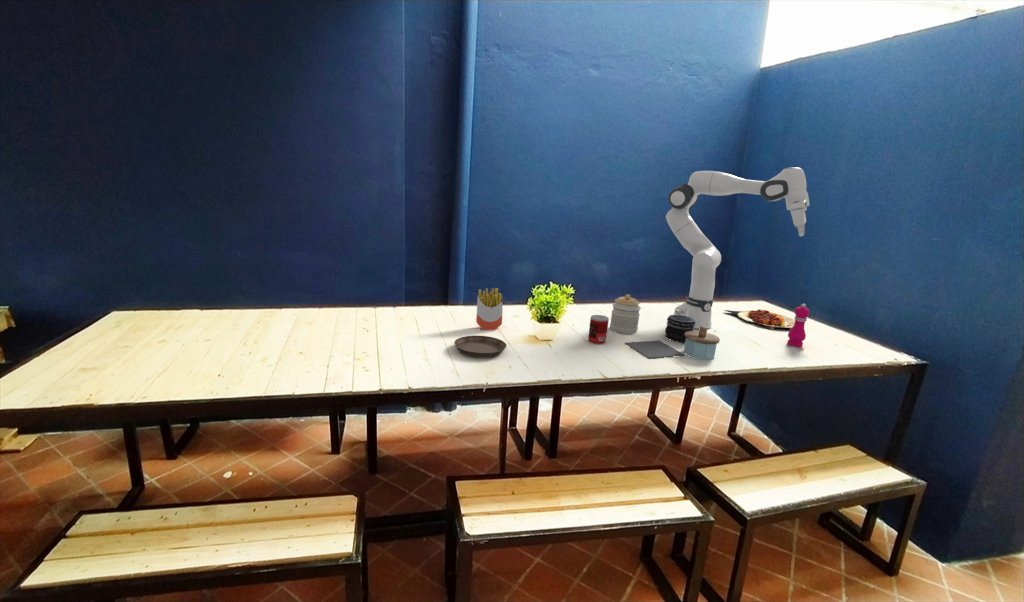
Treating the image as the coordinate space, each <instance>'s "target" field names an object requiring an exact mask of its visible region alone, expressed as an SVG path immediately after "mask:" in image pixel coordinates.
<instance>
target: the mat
mask: <svg viewBox="0 0 1024 602" xmlns="http://www.w3.org/2000/svg"><path fill="white" fill-rule="evenodd" d="M624 345H626V346H627V345H628V346H627V347H629V346H630V347H629V348H631V349H632V348H633V349H632V350H634V351H635V350H636V352H637V353H639V355H642V356H643V357H645V358H646V357H647V359H648V360H652V359H653V360H654V359H664V357H668V358H674V357H673V356H680V357H685V356H686V354H685V353H683V352H682V351H679V350H677V348H674V347H672V346H671V345H668V344H667V343H665V342H663V341H661V340H660V339H658V340H657V339H655V340H643V341H642V340H641V341H629V342H628V341H627V342H624Z"/></svg>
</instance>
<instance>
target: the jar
mask: <svg viewBox="0 0 1024 602" xmlns="http://www.w3.org/2000/svg"><path fill="white" fill-rule="evenodd" d="M614 301H615V302H614V303H612V310H611V319H610V324H609V329H610V331H612V332H613V333H618V334H622V335H635V334H637V333H638V329H639V320H640V316H641V314H640V310H641V309H642V308H641V306H639V305H640V301H638V300H637V299H636V298H633V297H631V295H630V294H627V293H626V294H625V295H624V296H619V297H617V298H615V299H614Z"/></svg>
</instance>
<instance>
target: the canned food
mask: <svg viewBox="0 0 1024 602" xmlns="http://www.w3.org/2000/svg"><path fill="white" fill-rule="evenodd" d="M609 319H610V318H609V317H608V316H606V315H601V314H593V315H591V316H590V319H589V320H590V321H589V329H588V336H587V337H588V342H590V343H591V344H594V345H595V344H596V345H604V344H605V343H606V341H607V335H608V327H609Z"/></svg>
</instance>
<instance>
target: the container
mask: <svg viewBox="0 0 1024 602" xmlns="http://www.w3.org/2000/svg"><path fill="white" fill-rule="evenodd" d="M669 315H670V316H669ZM669 315H668V316H667V319H666V320H667V322H666V327H665V330H664V333H665V337H667V338H668V340H669V339H671V340H670V341H672V340H673V341H672V342H676V341H678V342H677V343H682V342H683V343H685V340H686V338H685V336H684V335H685V332H687V331H694V329H695V328H694V325H695V324H696V322H695V320H694V319H692V318H690V317H687V316H681V315H673V314H669ZM667 338H666V339H667Z"/></svg>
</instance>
